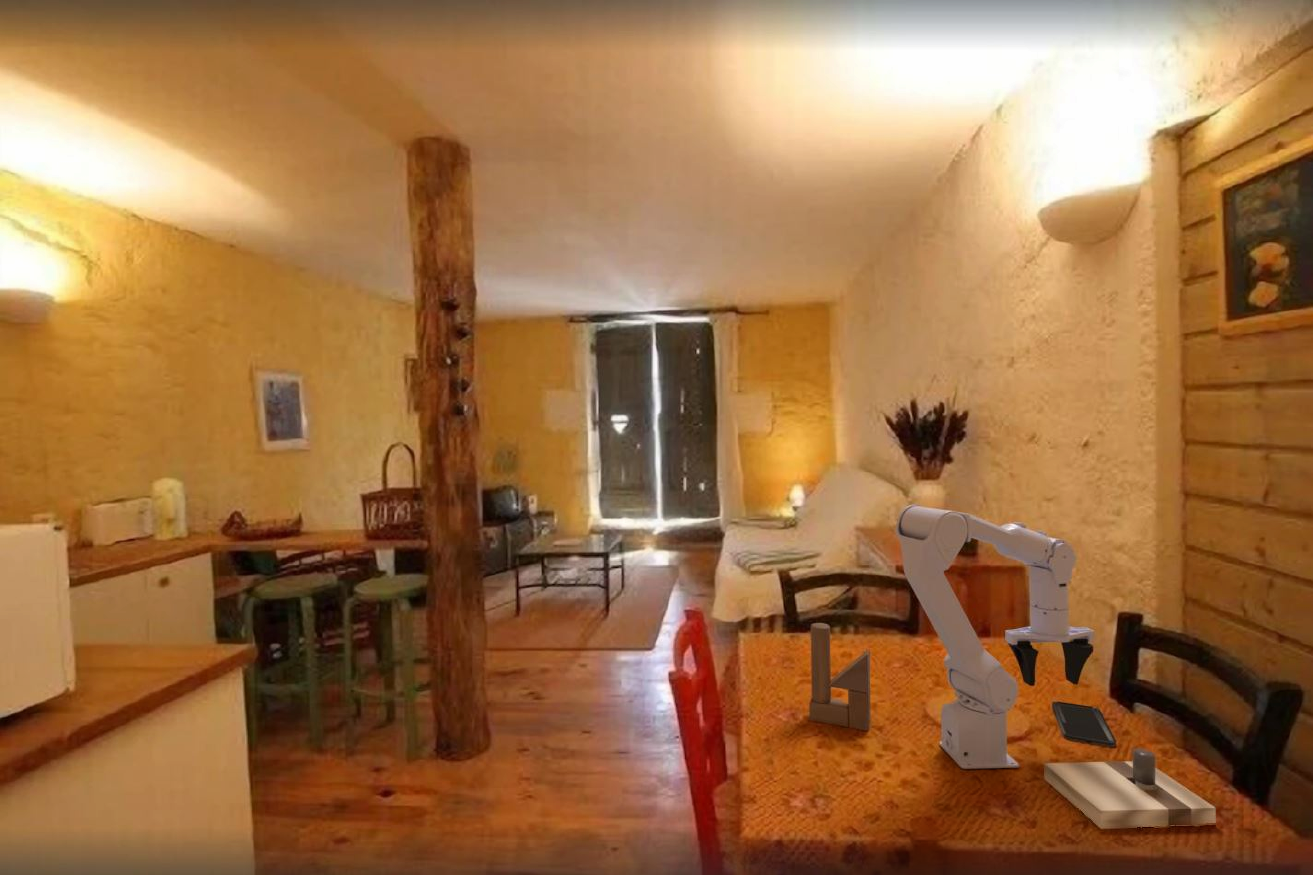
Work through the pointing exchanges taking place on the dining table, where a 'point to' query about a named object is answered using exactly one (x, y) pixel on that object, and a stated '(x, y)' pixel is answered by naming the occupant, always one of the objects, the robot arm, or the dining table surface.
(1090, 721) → the phone
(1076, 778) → the board
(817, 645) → the wooden block
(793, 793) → the dining table surface
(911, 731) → the dining table surface
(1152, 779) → the grey cylinder
